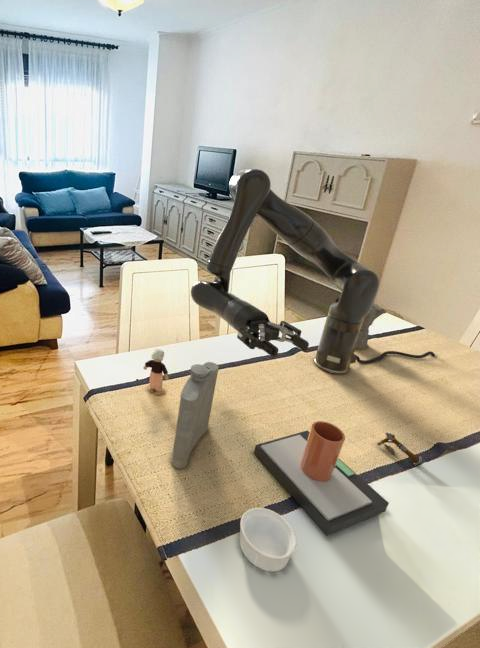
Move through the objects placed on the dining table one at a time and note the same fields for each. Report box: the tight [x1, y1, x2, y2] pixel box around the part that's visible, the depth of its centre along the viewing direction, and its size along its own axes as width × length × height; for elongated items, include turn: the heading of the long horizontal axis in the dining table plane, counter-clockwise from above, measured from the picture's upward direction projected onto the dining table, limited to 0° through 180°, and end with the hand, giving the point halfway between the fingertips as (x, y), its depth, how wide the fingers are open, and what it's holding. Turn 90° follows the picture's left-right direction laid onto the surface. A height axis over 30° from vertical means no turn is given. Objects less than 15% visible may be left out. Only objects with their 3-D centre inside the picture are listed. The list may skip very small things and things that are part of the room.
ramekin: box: [239, 507, 297, 573], centre depth 65 cm, size 9×9×4 cm
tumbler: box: [300, 420, 346, 482], centre depth 76 cm, size 6×6×10 cm
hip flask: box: [170, 361, 220, 470], centre depth 83 cm, size 16×4×20 cm, turn 148°
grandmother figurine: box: [143, 348, 170, 396], centre depth 102 cm, size 8×4×13 cm, turn 65°
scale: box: [253, 430, 390, 537], centre depth 79 cm, size 15×20×3 cm
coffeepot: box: [334, 296, 387, 350], centre depth 133 cm, size 15×9×18 cm, turn 44°
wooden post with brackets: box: [376, 431, 423, 467], centre depth 87 cm, size 2×8×4 cm, turn 48°
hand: (292, 350), depth 84 cm, fingers open, 8 cm apart
